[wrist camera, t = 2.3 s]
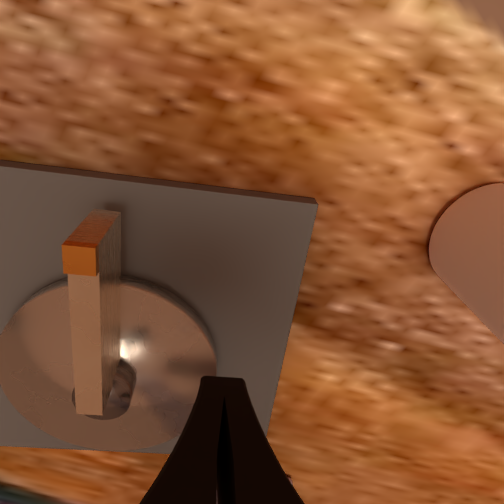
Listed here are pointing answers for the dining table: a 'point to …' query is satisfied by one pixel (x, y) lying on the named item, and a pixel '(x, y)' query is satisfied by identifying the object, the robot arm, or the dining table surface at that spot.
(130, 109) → the dining table surface
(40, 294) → the dial
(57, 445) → the dial board
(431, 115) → the dining table surface
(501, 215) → the can
